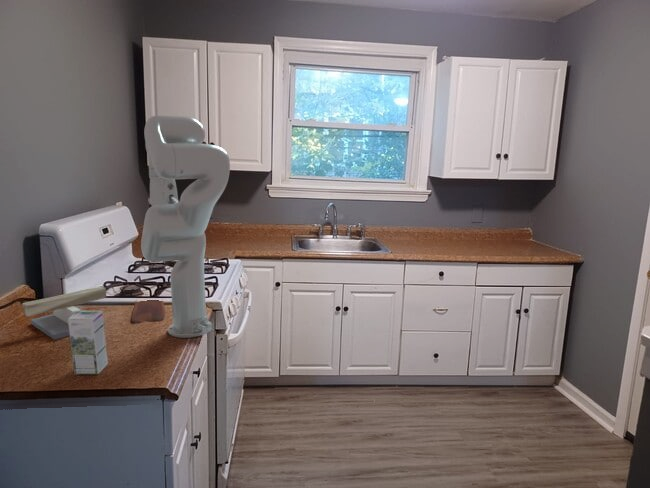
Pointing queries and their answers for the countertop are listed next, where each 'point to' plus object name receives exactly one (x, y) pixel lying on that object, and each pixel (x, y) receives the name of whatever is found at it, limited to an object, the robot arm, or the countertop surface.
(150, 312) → the wooden tablet
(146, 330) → the countertop surface
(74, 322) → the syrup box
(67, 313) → the stand
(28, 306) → the birch beam
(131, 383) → the countertop surface
